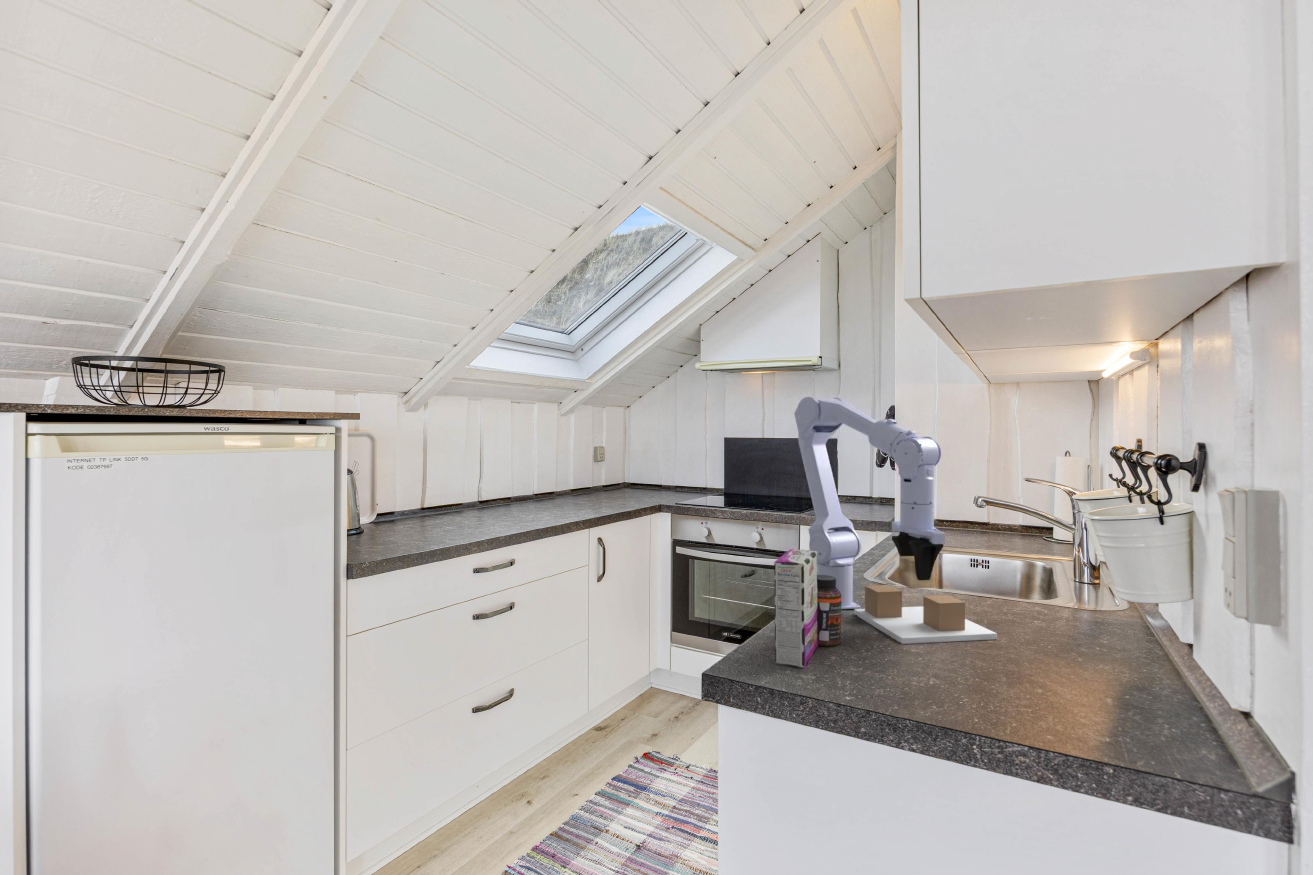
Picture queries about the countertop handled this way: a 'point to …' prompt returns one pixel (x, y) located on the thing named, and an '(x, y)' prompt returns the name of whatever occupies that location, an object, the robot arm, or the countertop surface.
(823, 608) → the supplement bottle
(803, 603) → the candy bar box
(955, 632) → the tray with cubes
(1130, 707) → the countertop surface
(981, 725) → the countertop surface
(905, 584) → the block
